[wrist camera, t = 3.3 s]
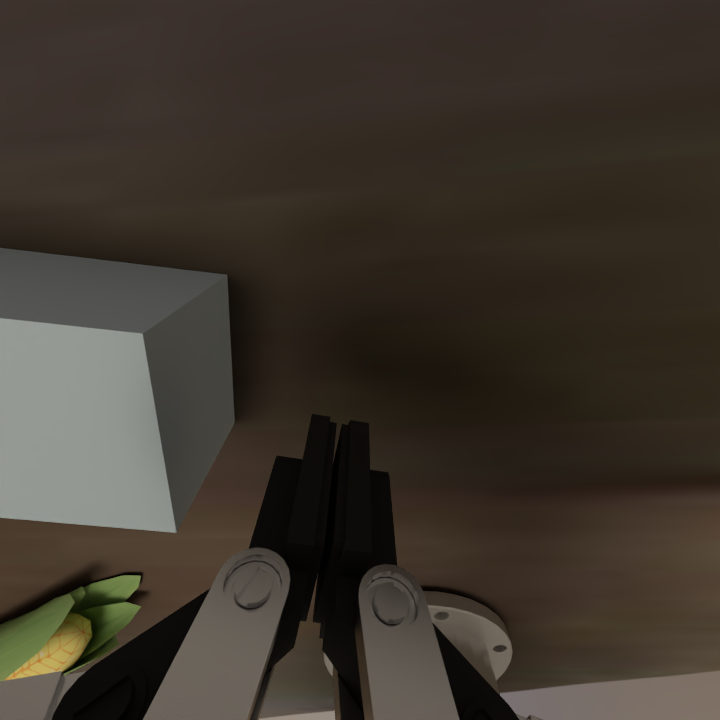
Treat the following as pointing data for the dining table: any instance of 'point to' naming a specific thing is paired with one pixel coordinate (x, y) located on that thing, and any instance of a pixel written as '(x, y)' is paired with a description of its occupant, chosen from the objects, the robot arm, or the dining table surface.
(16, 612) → the dining table surface
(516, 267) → the dining table surface
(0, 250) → the block
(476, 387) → the dining table surface
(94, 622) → the edible corn
